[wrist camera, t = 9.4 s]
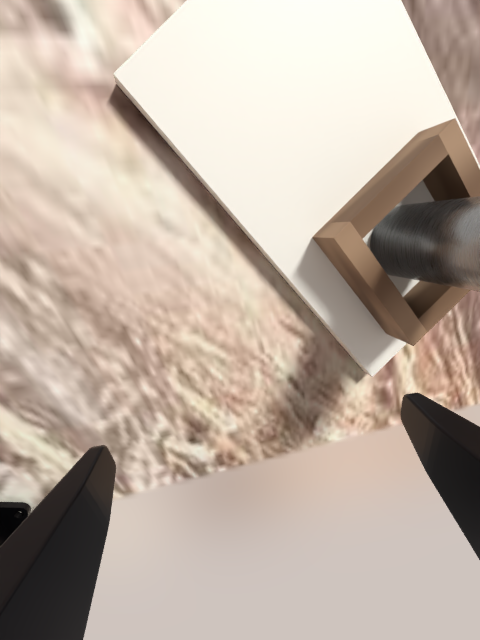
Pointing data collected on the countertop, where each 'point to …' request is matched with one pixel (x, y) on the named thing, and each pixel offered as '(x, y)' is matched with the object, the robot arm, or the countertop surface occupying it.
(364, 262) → the square wooden frame
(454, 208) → the grey tall rounded cylinder
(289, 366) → the countertop surface
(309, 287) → the board
